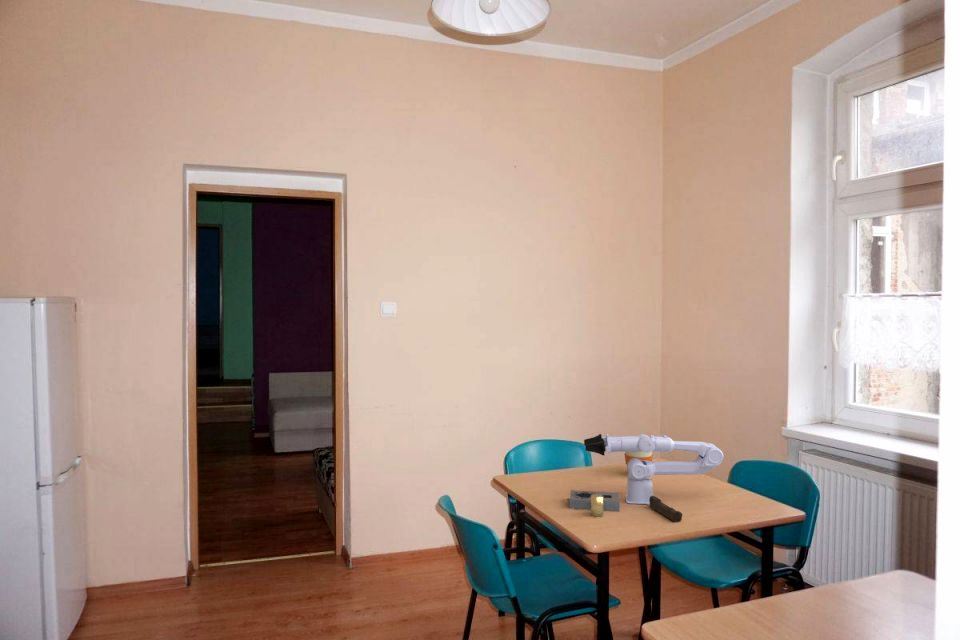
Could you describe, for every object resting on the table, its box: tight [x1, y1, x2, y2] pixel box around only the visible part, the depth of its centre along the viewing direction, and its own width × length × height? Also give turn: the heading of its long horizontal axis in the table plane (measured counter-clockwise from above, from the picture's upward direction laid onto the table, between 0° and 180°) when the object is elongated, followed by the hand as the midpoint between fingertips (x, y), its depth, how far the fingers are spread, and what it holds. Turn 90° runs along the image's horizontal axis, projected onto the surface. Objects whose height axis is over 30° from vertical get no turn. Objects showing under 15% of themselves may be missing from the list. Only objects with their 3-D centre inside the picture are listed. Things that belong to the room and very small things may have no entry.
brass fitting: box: [590, 494, 604, 518], centre depth 229 cm, size 4×4×7 cm
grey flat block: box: [569, 489, 621, 512], centre depth 241 cm, size 18×12×4 cm, turn 80°
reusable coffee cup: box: [624, 450, 653, 476], centre depth 283 cm, size 12×12×15 cm
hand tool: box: [649, 495, 683, 523], centre depth 231 cm, size 19×4×5 cm, turn 12°
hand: (584, 445), depth 247 cm, fingers open, 7 cm apart
